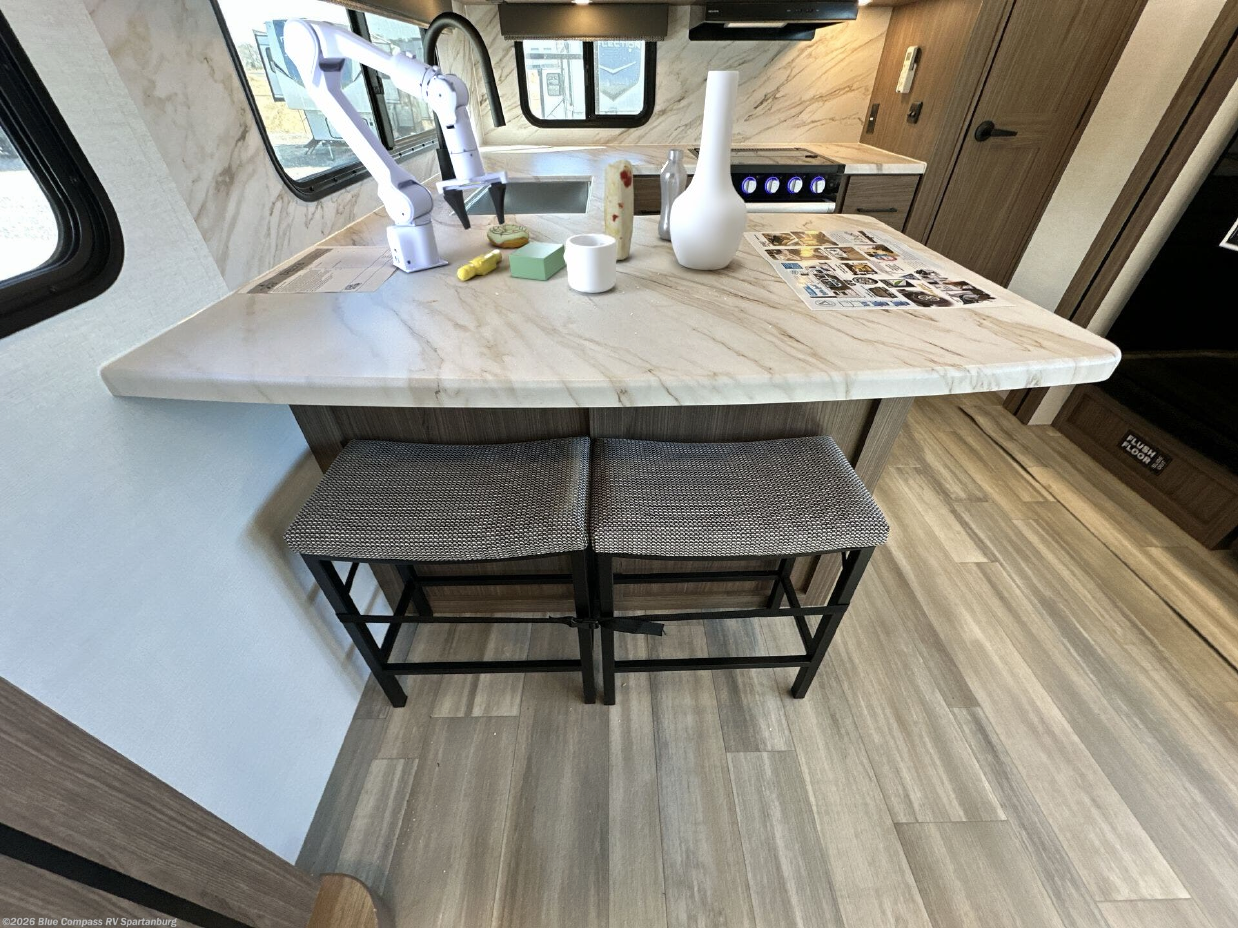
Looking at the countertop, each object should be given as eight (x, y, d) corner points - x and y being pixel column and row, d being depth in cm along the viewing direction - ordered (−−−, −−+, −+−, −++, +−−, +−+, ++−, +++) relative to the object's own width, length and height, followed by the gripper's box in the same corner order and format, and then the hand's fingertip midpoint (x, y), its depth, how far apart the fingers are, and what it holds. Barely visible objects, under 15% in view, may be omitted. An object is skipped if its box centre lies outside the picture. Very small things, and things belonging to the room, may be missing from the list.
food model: (632, 264, 116) (634, 163, 103) (603, 263, 116) (602, 163, 103) (632, 251, 123) (635, 156, 111) (605, 251, 123) (604, 156, 111)
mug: (582, 273, 110) (580, 228, 104) (626, 279, 107) (627, 233, 101) (557, 291, 101) (554, 243, 95) (605, 298, 98) (604, 249, 93)
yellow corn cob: (471, 283, 105) (468, 268, 103) (455, 281, 105) (452, 266, 104) (508, 260, 117) (506, 247, 115) (493, 259, 118) (491, 245, 116)
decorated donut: (496, 251, 122) (494, 235, 120) (483, 241, 130) (480, 225, 127) (536, 245, 126) (535, 229, 124) (521, 236, 134) (519, 220, 131)
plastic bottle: (683, 242, 130) (691, 152, 117) (657, 242, 130) (662, 151, 117) (682, 236, 135) (688, 148, 122) (656, 236, 135) (660, 148, 122)
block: (545, 280, 106) (543, 258, 103) (511, 276, 108) (508, 254, 105) (565, 265, 114) (564, 244, 112) (533, 262, 116) (531, 241, 113)
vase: (659, 253, 122) (670, 70, 100) (725, 251, 124) (749, 71, 102) (677, 276, 109) (693, 71, 87) (750, 272, 111) (784, 71, 90)
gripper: (421, 160, 96) (446, 235, 104) (493, 147, 94) (513, 225, 102) (435, 155, 102) (457, 227, 110) (503, 144, 100) (521, 218, 108)
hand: (485, 226), depth 107 cm, fingers open, 7 cm apart
